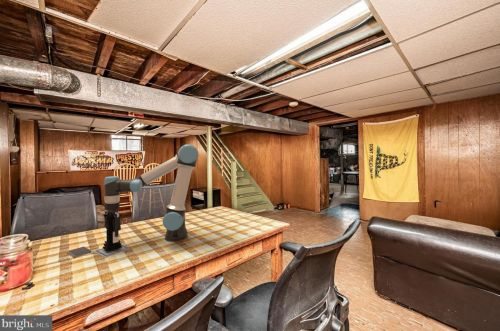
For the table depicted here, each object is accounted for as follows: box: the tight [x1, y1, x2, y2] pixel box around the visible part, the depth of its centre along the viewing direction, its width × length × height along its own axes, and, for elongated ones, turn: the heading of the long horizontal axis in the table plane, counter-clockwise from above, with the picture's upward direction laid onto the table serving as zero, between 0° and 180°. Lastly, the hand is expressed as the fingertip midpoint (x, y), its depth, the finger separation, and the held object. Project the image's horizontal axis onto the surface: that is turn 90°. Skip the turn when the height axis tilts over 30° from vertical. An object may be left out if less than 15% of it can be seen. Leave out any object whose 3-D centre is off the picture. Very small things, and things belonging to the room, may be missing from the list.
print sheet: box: [93, 243, 132, 258], centre depth 122 cm, size 14×14×1 cm
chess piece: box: [102, 211, 122, 252], centre depth 122 cm, size 8×8×20 cm
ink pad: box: [66, 246, 92, 258], centre depth 118 cm, size 8×10×2 cm
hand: (112, 240), depth 122 cm, fingers open, 7 cm apart
